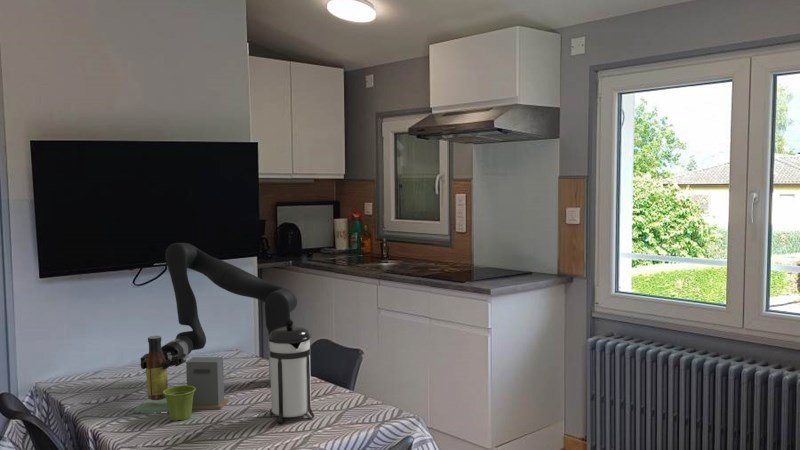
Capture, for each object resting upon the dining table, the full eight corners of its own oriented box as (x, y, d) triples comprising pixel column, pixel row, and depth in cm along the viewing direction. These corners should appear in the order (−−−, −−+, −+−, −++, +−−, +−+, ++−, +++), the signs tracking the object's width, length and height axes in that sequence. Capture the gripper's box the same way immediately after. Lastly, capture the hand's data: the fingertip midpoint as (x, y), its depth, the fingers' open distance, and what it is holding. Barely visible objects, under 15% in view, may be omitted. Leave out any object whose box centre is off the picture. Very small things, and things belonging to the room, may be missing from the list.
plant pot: (178, 425, 200) (177, 396, 199) (157, 419, 205) (156, 391, 204) (203, 415, 208) (202, 388, 207) (182, 410, 213) (181, 383, 212)
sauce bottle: (172, 395, 218) (170, 335, 217) (159, 402, 212) (157, 340, 211) (155, 393, 220) (154, 333, 219) (142, 399, 214) (140, 338, 213)
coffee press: (327, 410, 211) (325, 315, 209) (298, 427, 196) (296, 326, 194) (280, 403, 218) (278, 312, 216) (250, 419, 204) (247, 321, 202)
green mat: (181, 401, 222) (181, 398, 222) (168, 413, 211) (168, 409, 211) (148, 401, 222) (148, 398, 222) (133, 413, 211) (133, 409, 211)
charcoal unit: (228, 401, 221) (227, 356, 220) (220, 409, 213) (219, 362, 212) (192, 401, 222) (190, 356, 221) (183, 409, 214) (181, 362, 213)
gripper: (152, 341, 230) (130, 354, 213) (193, 341, 229) (175, 354, 213) (153, 363, 230) (131, 377, 214) (194, 363, 230) (175, 378, 213)
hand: (153, 366), depth 213 cm, fingers closed on sauce bottle, 6 cm apart
